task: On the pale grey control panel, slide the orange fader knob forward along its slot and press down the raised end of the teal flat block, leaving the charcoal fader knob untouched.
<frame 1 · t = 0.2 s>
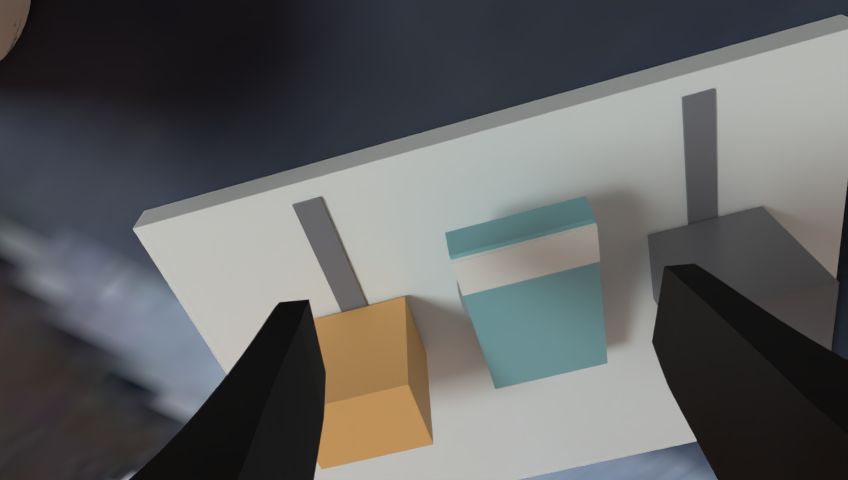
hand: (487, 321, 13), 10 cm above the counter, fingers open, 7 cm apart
teal flat block: (535, 306, 21), point 3 cm above the counter, hinge at -12.0°
panel: (520, 315, 26), on the counter
charcoal fader: (733, 291, 21), point 4 cm above the counter, slide at 0.0 cm
orange fader: (364, 379, 22), point 4 cm above the counter, slide at 0.0 cm
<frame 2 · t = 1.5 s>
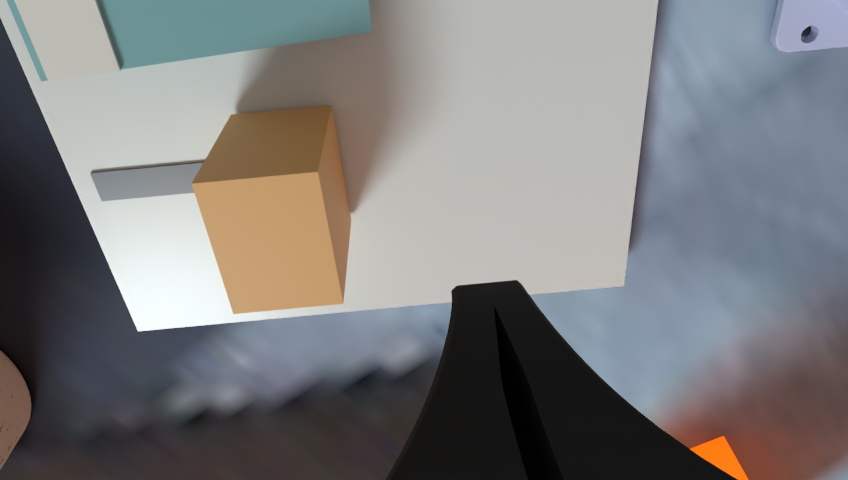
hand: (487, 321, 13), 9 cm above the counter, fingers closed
orange fader: (284, 205, 18), point 4 cm above the counter, slide at 0.0 cm
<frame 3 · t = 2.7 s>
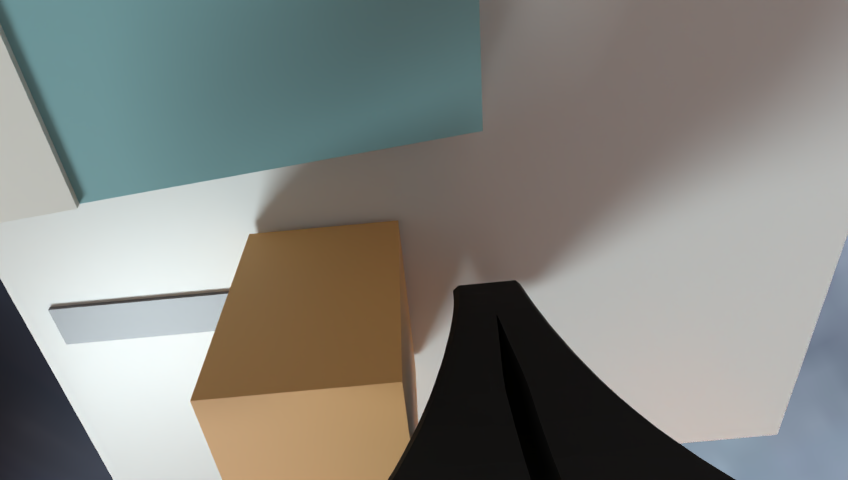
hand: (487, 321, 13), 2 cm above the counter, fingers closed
teal flat block: (193, 21, 9), point 3 cm above the counter, hinge at -12.0°
orange fader: (331, 378, 12), point 4 cm above the counter, slide at 0.1 cm, touching gripper
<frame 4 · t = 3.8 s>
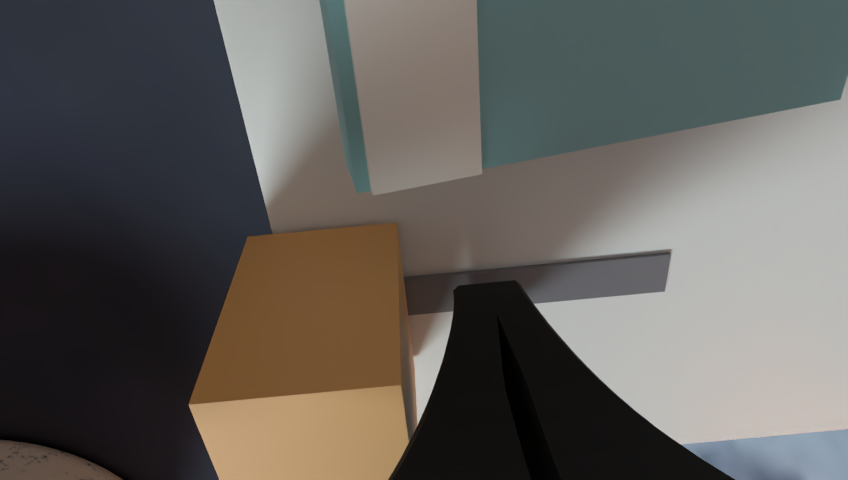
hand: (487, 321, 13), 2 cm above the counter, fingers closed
orange fader: (329, 381, 12), point 4 cm above the counter, slide at 5.9 cm, touching gripper
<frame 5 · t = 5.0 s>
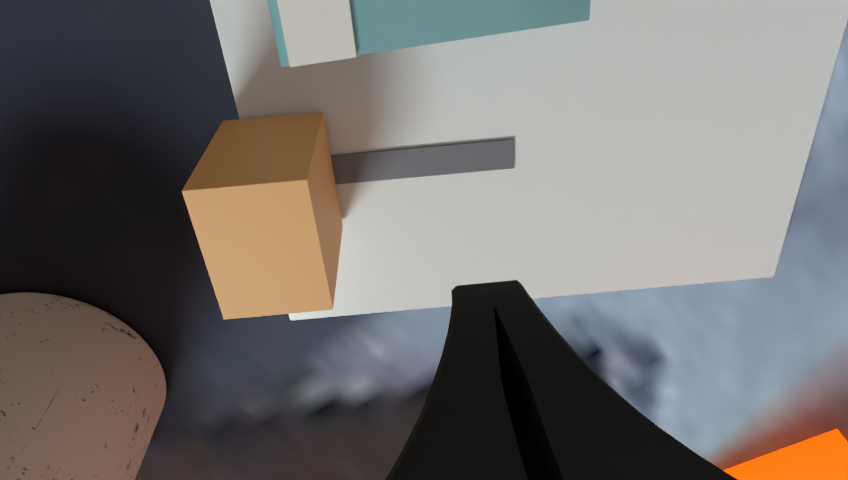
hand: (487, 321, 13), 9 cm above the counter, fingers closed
teacup with lid: (79, 391, 26), on the counter
orange fader: (275, 211, 18), point 4 cm above the counter, slide at 5.9 cm
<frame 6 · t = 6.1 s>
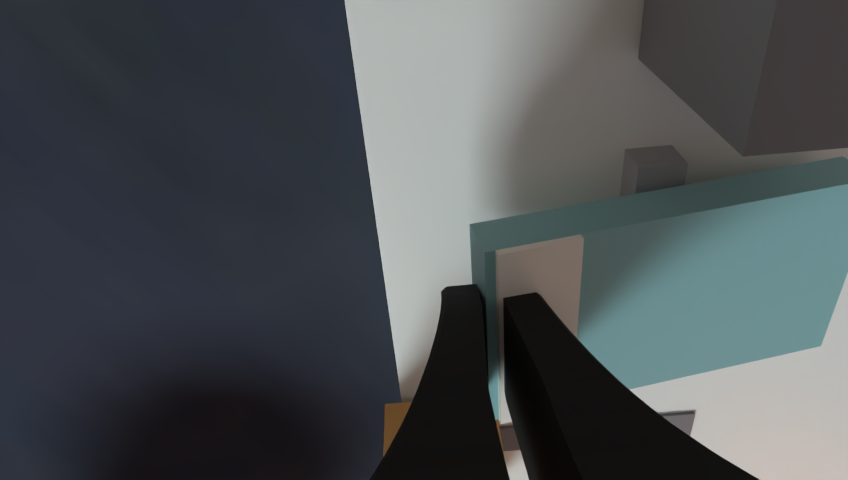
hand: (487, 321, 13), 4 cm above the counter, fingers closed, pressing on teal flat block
teal flat block: (664, 293, 13), point 3 cm above the counter, hinge at -10.4°, touching gripper
panel: (737, 225, 16), on the counter
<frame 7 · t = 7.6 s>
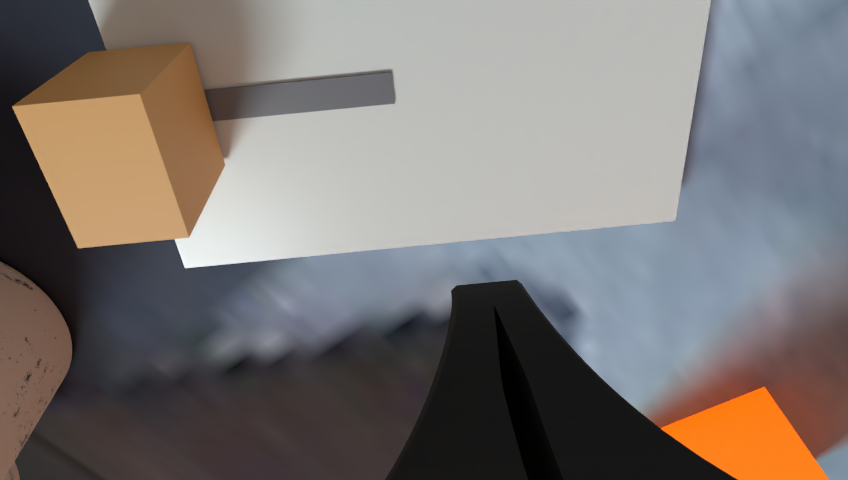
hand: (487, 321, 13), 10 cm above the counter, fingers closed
orange juice: (698, 459, 33), on the counter
orange fader: (136, 140, 17), point 4 cm above the counter, slide at 5.9 cm
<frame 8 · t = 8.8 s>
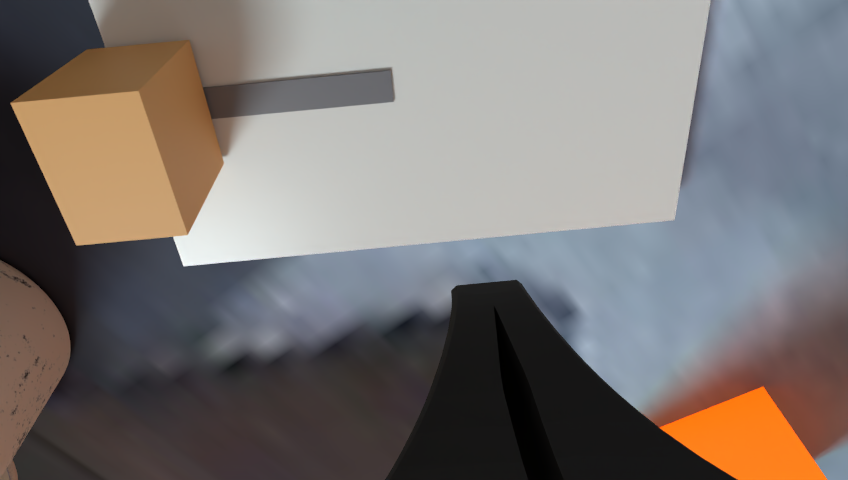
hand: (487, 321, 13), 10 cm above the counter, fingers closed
orange juice: (696, 458, 33), on the counter
orange fader: (135, 138, 17), point 4 cm above the counter, slide at 5.9 cm
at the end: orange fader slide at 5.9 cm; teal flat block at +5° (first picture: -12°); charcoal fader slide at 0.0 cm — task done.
